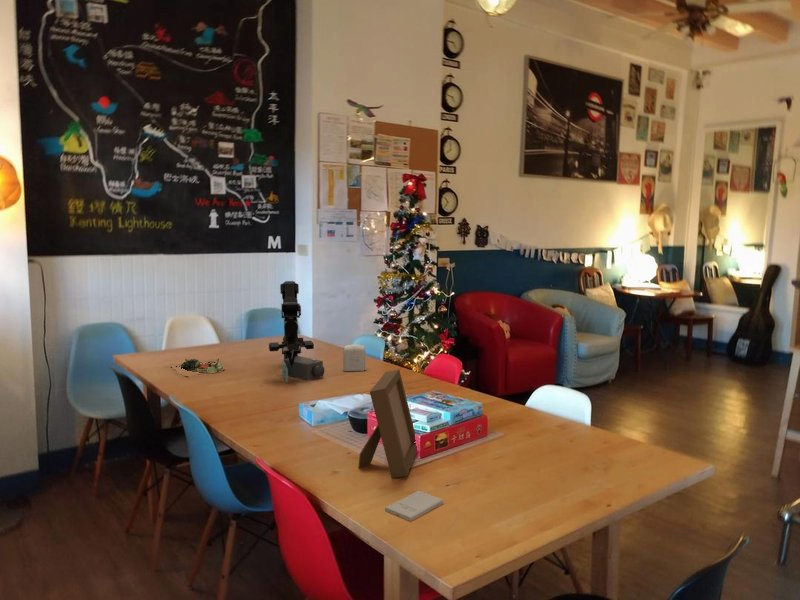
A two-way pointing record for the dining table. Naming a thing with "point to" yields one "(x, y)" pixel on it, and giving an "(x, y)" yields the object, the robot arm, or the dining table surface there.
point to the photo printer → (354, 358)
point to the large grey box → (305, 368)
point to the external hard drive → (414, 505)
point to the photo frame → (391, 426)
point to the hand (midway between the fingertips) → (291, 365)
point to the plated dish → (201, 366)
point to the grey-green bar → (285, 371)
